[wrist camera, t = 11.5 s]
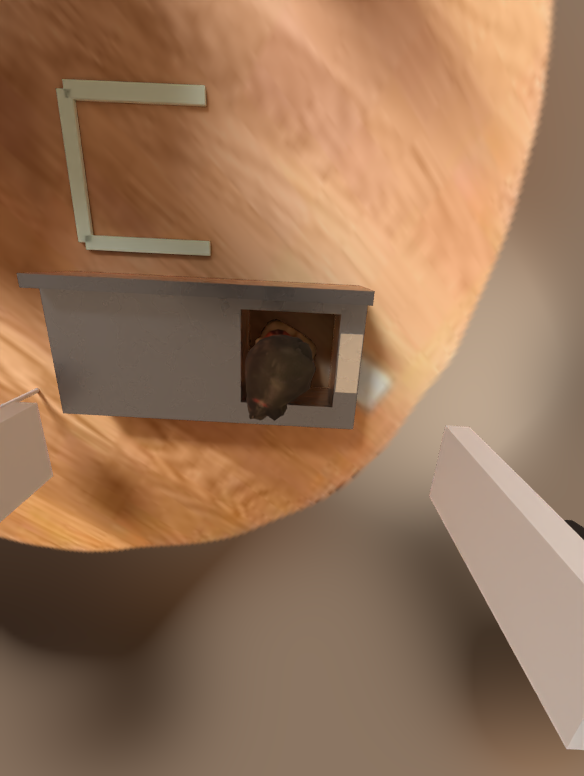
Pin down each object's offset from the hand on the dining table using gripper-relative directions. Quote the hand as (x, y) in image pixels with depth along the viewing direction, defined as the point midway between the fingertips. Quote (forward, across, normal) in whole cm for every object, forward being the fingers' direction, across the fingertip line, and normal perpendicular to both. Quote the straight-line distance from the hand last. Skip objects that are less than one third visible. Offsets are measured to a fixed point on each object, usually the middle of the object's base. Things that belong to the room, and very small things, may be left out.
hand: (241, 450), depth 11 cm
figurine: (+23, +1, -2) cm, 23 cm away
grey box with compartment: (+23, -6, -2) cm, 24 cm away
